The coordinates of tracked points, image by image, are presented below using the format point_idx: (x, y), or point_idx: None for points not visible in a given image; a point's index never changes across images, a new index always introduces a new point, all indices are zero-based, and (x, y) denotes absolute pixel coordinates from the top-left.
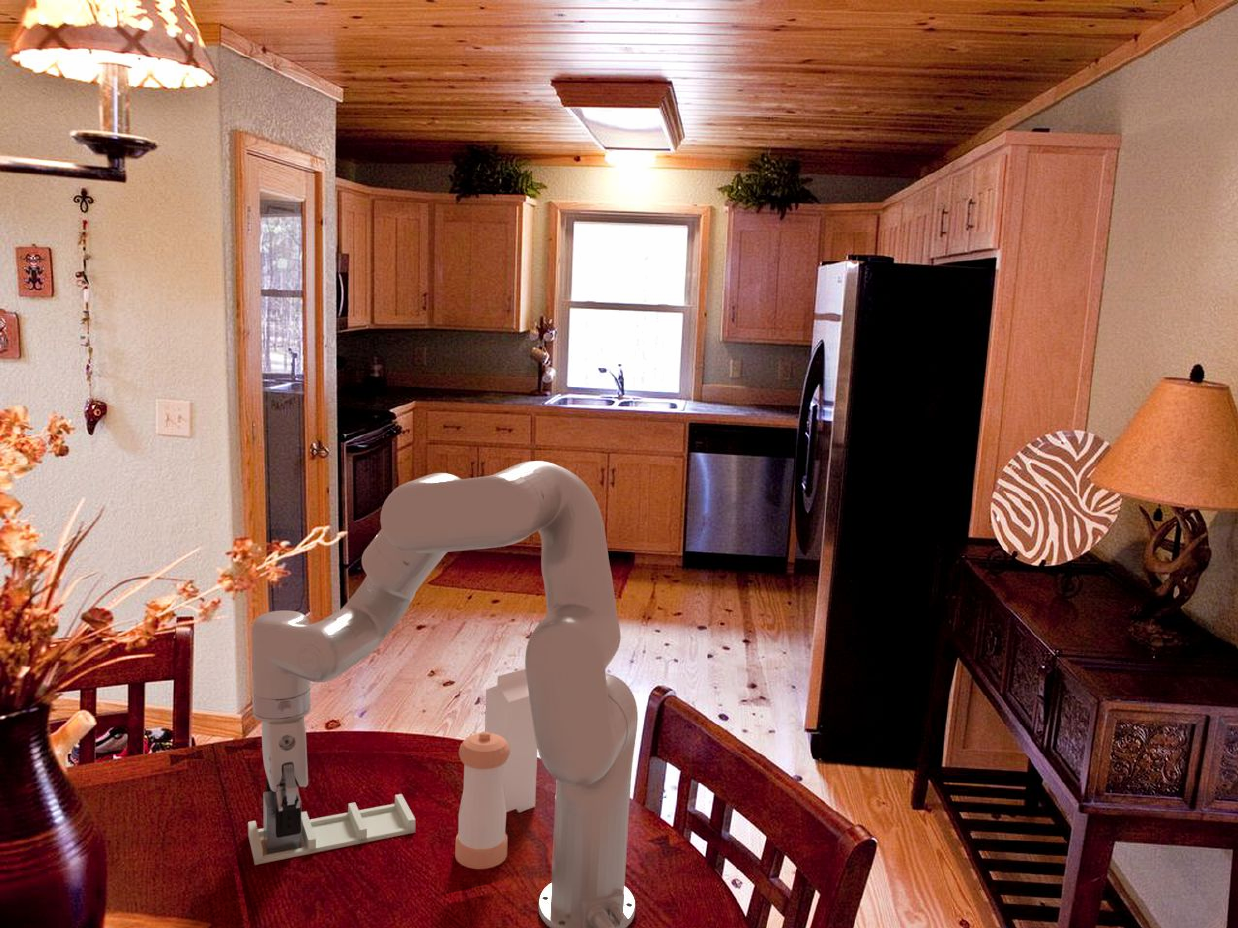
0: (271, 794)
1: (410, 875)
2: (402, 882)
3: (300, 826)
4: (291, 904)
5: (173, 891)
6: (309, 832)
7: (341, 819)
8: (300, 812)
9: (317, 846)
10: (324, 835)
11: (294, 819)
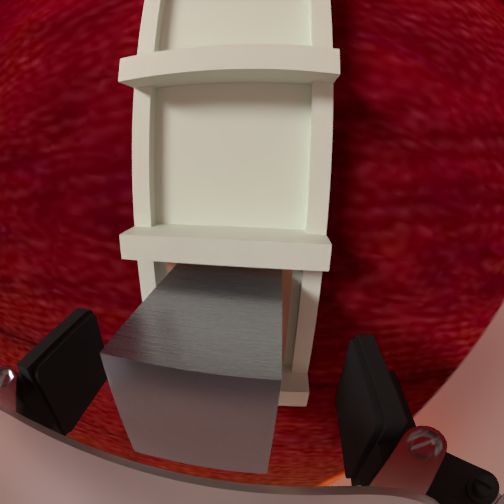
0: (155, 441)
1: (478, 43)
2: (496, 71)
3: (377, 348)
4: (462, 315)
5: (295, 460)
6: (274, 256)
7: (155, 112)
8: (395, 394)
9: (316, 227)
10: (230, 181)
11: (405, 403)
